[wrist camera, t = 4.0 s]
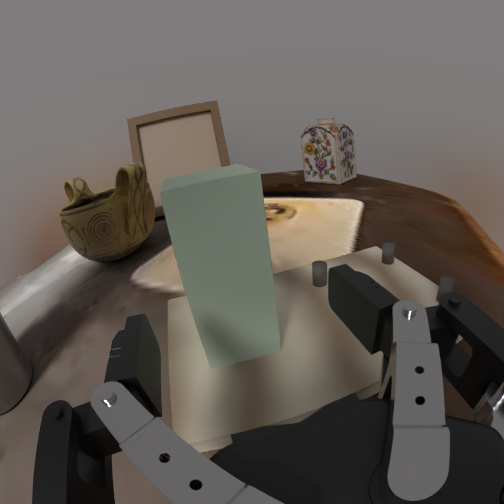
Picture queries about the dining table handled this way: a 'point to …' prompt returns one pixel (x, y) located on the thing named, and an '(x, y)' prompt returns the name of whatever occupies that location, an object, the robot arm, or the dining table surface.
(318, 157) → the decorative jar
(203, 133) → the photo frame
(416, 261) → the dining table surface
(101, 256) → the ceramic bowl
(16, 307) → the dining table surface
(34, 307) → the dining table surface
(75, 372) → the dining table surface
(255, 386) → the peg board
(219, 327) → the green block
